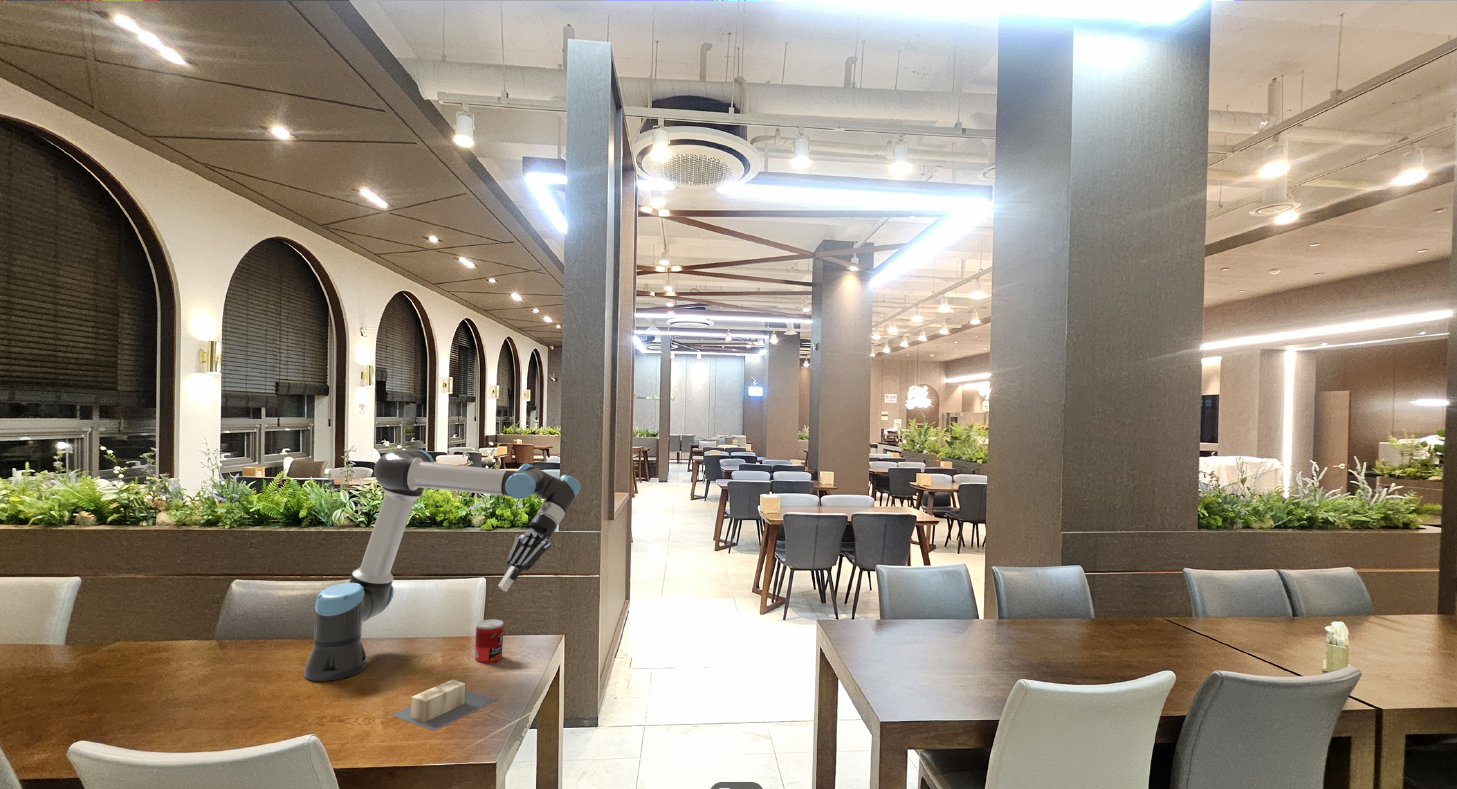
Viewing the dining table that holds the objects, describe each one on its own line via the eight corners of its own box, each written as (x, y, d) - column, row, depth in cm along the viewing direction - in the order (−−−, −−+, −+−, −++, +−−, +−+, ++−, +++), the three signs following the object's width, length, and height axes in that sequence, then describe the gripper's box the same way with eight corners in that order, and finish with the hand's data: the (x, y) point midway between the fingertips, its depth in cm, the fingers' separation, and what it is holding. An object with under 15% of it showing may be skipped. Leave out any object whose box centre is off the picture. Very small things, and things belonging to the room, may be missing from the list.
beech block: (451, 698, 162) (410, 717, 151) (452, 679, 162) (411, 696, 152) (465, 702, 160) (424, 722, 149) (466, 683, 160) (425, 701, 149)
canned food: (493, 665, 185) (494, 628, 186) (469, 662, 187) (470, 625, 188) (507, 656, 193) (508, 620, 193) (483, 653, 195) (485, 618, 195)
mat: (389, 716, 152) (390, 714, 152) (454, 687, 169) (454, 686, 169) (434, 732, 145) (434, 730, 145) (497, 701, 162) (497, 699, 162)
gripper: (524, 510, 191) (478, 577, 176) (557, 515, 185) (512, 585, 170) (536, 524, 195) (492, 591, 181) (568, 530, 190) (526, 599, 175)
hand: (502, 588), depth 175 cm, fingers closed
